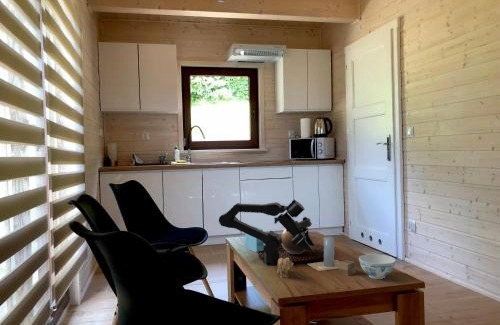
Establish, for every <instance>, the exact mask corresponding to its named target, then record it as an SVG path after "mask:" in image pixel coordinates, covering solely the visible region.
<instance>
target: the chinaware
mask: <svg viewBox="0 0 500 325" xmlns="http://www.w3.org/2000/svg"><path fill="white" fill-rule="evenodd" d="M396 261H397V260H396V258H394V256H393V257H392V256H390V255H386V254H378V253H370V254H364V255H359V257H358V262H359V265H360V267H361V269H362V270H363V271H364V272H365V273H366V274H367V275H368V277H369V278H371V279H373V280H383V278H384V279H385V278H386V277H387V275H389V274H390V273H391V272H392V271H393V270H394V267H395V265H396V263H397V262H396Z"/></svg>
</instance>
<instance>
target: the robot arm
mask: <svg viewBox="0 0 500 325" xmlns="http://www.w3.org/2000/svg"><path fill="white" fill-rule="evenodd" d="M303 211H305V207H304V206H303V204H301V202H299V201H297V200H296V199H293V200H291V202H290V204H288V205H283V204H282V205H281V203H280V202H270V203H264V204H261V203H260V204H259V203H258V204H257V203H254V204H253V203H240V202H239V203H238V202H237V203H235V204H233V205H232V207H231V208H230V209H229V210H228V211H227V212H225V213H223V214H222V215H220V216H219V218H218V223H219V225H220V226H221V227H225V228H228V229H234V230H238V231H239V232H242V233H243V234H245V233H246V234H248V235H250V236H252V237H255V238H257V239H259V240H261V241H262V242H263V243H264V250H263V256H264V257H263V261H262V263H263V264H265V265H266V266H276V265H277V266H278V260H279V259H280V253H279V250H278V249H279V248H280V246H282V244H281V243H282V238H281V235H279V233H277V232H275V231H273V230H270V231H269V232H266V231H264V230H263V231H261V230H259V229H257V228H258V227H257V228H255V227H256V226H254V227H252V226H253V225H250V224H248V223H246V222H243V221H241V220H240V219H239V218H237V215H238V214H239V213H257V214H265V215H266V216H272V217H274V218H273V219H274V221H273V222H274V225H276V224H278V222H279V224H281V225H282V227H283V228H284V230H285V229H286V231H287V232H289V233H290V234H291V235H292V238H293V239H292V240H291V243H292V244H293V245H294V246H295V245H296V246H298V247H300V248H303V249H305V250H306V251H307V252H308V251H309V252H313V248H312V247H314V246H315V243H314V242H313V240H312V239H311V237H310V234H309V233H310V230H309V227H312V224H313V223H312V222H311V219H310V218H309V217H307V216H303V218H302V220H301V221H298V220H294V218H298V217H299V215H300V214H302V213H303ZM306 231H307V232H306Z"/></svg>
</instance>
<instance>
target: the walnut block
mask: <svg viewBox="0 0 500 325" xmlns="http://www.w3.org/2000/svg"><path fill="white" fill-rule="evenodd" d="M356 267H357V266H356V262H355V261H351V260H350V259H349V260H348V259H345V260H342V261H340V262H339V269H338V274H341V275H344V276H347V277H348V276H352V275H355V274H356V270H357V268H356Z"/></svg>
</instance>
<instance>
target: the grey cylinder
mask: <svg viewBox="0 0 500 325" xmlns="http://www.w3.org/2000/svg"><path fill="white" fill-rule="evenodd" d="M334 260H335V237H334V236H324V237H323V262H324V266H325V267H334V266H335V265H334Z"/></svg>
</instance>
